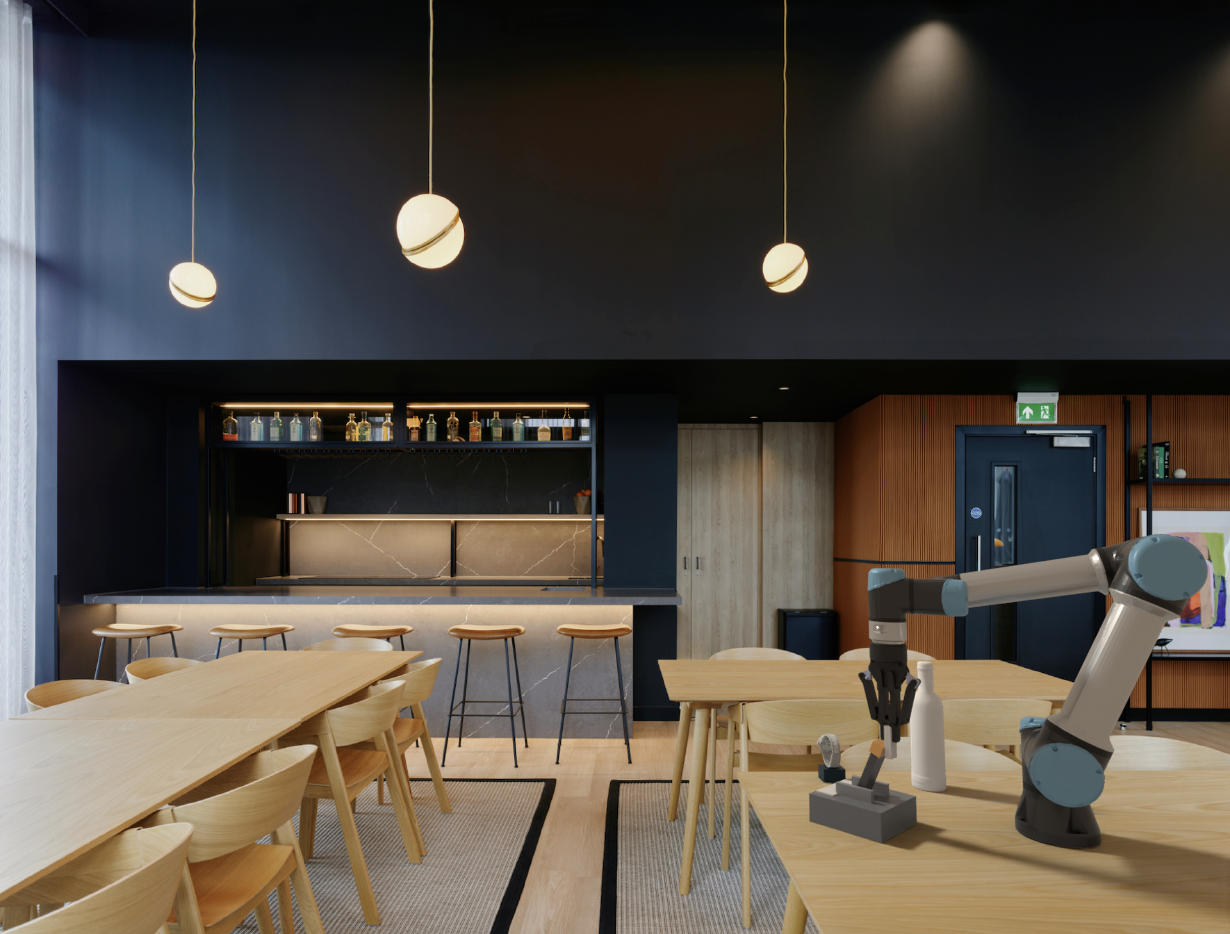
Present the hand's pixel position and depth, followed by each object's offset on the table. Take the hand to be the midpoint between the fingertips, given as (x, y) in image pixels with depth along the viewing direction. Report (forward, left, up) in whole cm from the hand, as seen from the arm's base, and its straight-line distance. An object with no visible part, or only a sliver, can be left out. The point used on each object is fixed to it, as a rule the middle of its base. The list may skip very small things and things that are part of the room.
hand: (890, 757), depth 153 cm
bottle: (+8, -35, -15) cm, 39 cm away
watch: (+27, -22, -15) cm, 38 cm away
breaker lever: (+7, 0, -9) cm, 11 cm away
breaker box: (+7, 0, -15) cm, 16 cm away
